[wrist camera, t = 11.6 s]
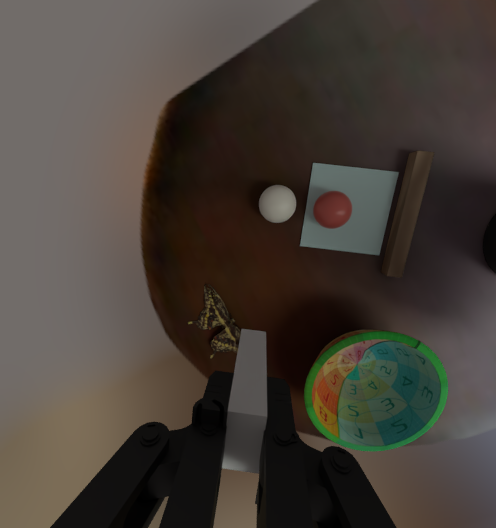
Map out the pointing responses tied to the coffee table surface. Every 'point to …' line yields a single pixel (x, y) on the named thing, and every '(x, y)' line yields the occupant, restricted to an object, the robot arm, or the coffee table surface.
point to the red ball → (332, 209)
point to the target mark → (363, 208)
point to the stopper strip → (406, 212)
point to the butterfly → (218, 323)
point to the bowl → (375, 390)
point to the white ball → (277, 203)
